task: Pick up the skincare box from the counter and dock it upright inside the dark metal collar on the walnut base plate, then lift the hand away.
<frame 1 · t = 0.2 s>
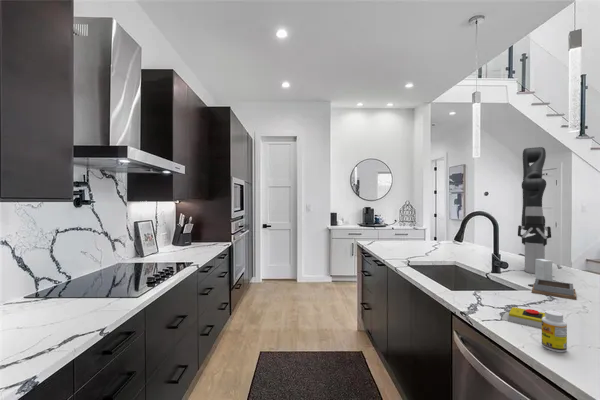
hand: (534, 245, 163), 18 cm above the worktop, tool pointing down, fingers open, 8 cm apart
dock socket: (553, 292, 138), on the worktop
emergency button: (528, 323, 106), on the worktop
skincare box: (543, 284, 152), on the worktop
supplement bottle: (553, 348, 87), on the worktop
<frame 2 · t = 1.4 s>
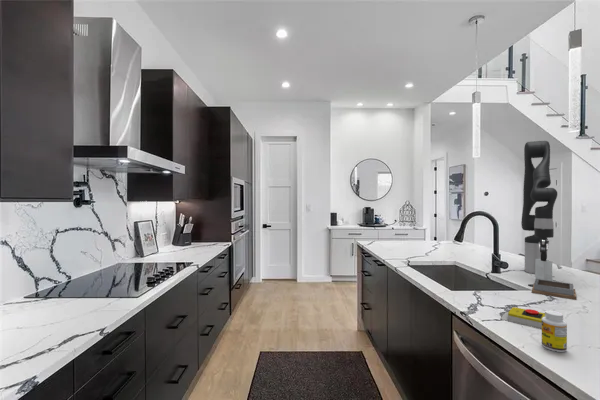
hand: (543, 259, 152), 12 cm above the worktop, tool pointing down, fingers open, 8 cm apart
nothing on the worktop moved.
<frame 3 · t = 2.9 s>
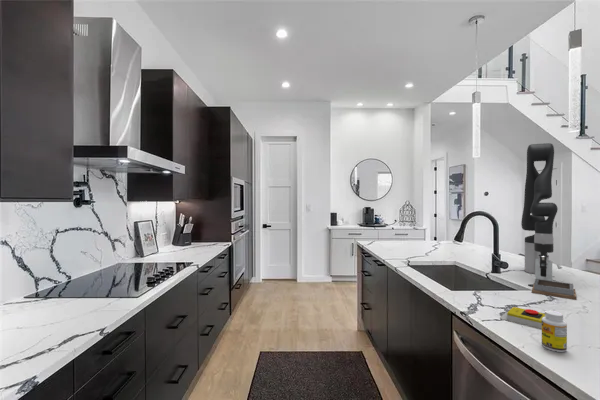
hand: (543, 274, 152), 4 cm above the worktop, tool pointing down, fingers closed on skincare box, 7 cm apart
skincare box: (543, 284, 152), on the worktop, touching gripper
everything else where it was.
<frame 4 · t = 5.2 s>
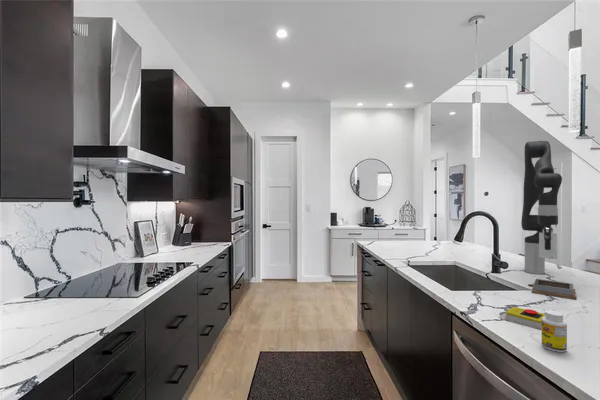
hand: (548, 248, 146), 19 cm above the worktop, tool pointing down, fingers closed on skincare box, 7 cm apart
skincare box: (548, 258, 146), point 14 cm above the worktop, touching gripper
everything else where it was.
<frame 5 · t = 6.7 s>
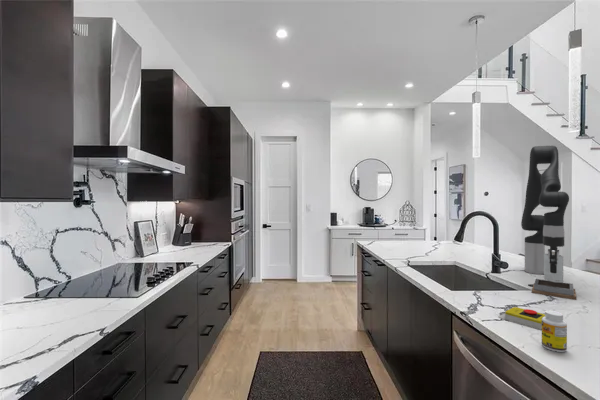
hand: (553, 271, 138), 10 cm above the worktop, tool pointing down, fingers closed on skincare box, 7 cm apart
skincare box: (553, 281, 139), point 5 cm above the worktop, touching gripper
when the fingers open (6 cm above the worktop, at t = 7.9 s): skincare box stays where it is, resting on dock socket.
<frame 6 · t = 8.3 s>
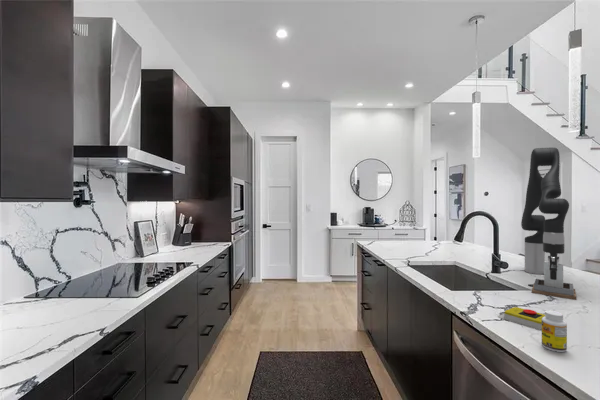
hand: (553, 277, 138), 7 cm above the worktop, tool pointing down, fingers open, 8 cm apart
skincare box: (553, 289, 139), point 1 cm above the worktop, touching dock socket
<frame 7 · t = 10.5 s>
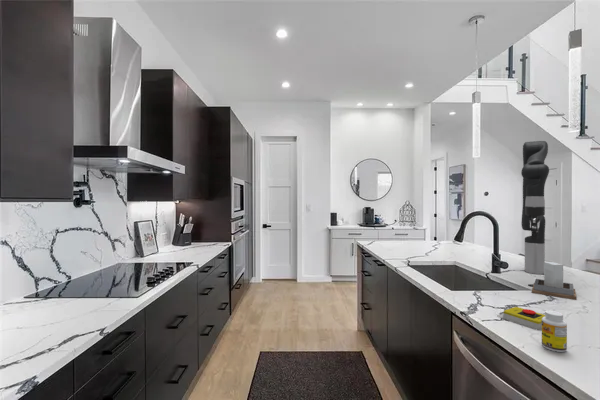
hand: (534, 238, 148), 23 cm above the worktop, tool pointing down, fingers open, 8 cm apart
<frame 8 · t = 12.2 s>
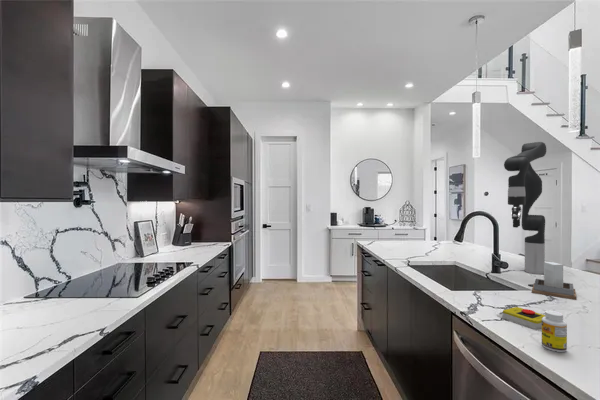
hand: (516, 226, 158), 28 cm above the worktop, tool pointing down, fingers open, 8 cm apart
at the end: skincare box 0.3 cm off-centre on the dock socket, point 1.0 cm above the dock socket's base; skincare box tilted 0°; the gripper is holding nothing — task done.
